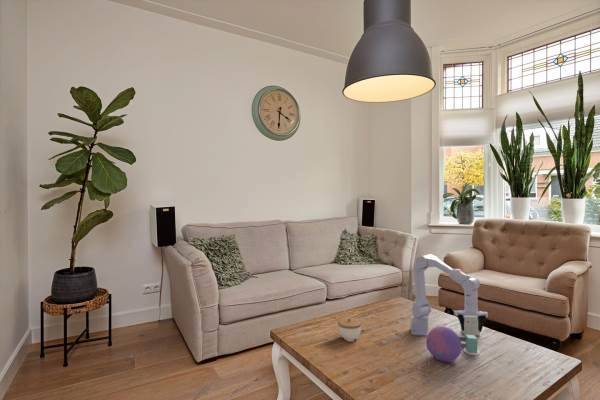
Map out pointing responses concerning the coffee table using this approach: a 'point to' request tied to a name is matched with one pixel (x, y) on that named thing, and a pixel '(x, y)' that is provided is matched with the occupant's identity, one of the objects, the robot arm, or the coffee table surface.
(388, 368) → the coffee table surface
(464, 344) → the pocket board
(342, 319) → the lidded bowl
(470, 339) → the peg
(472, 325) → the small box
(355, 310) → the coffee table surface
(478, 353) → the coaster
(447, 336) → the decorative ball
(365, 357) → the coffee table surface
